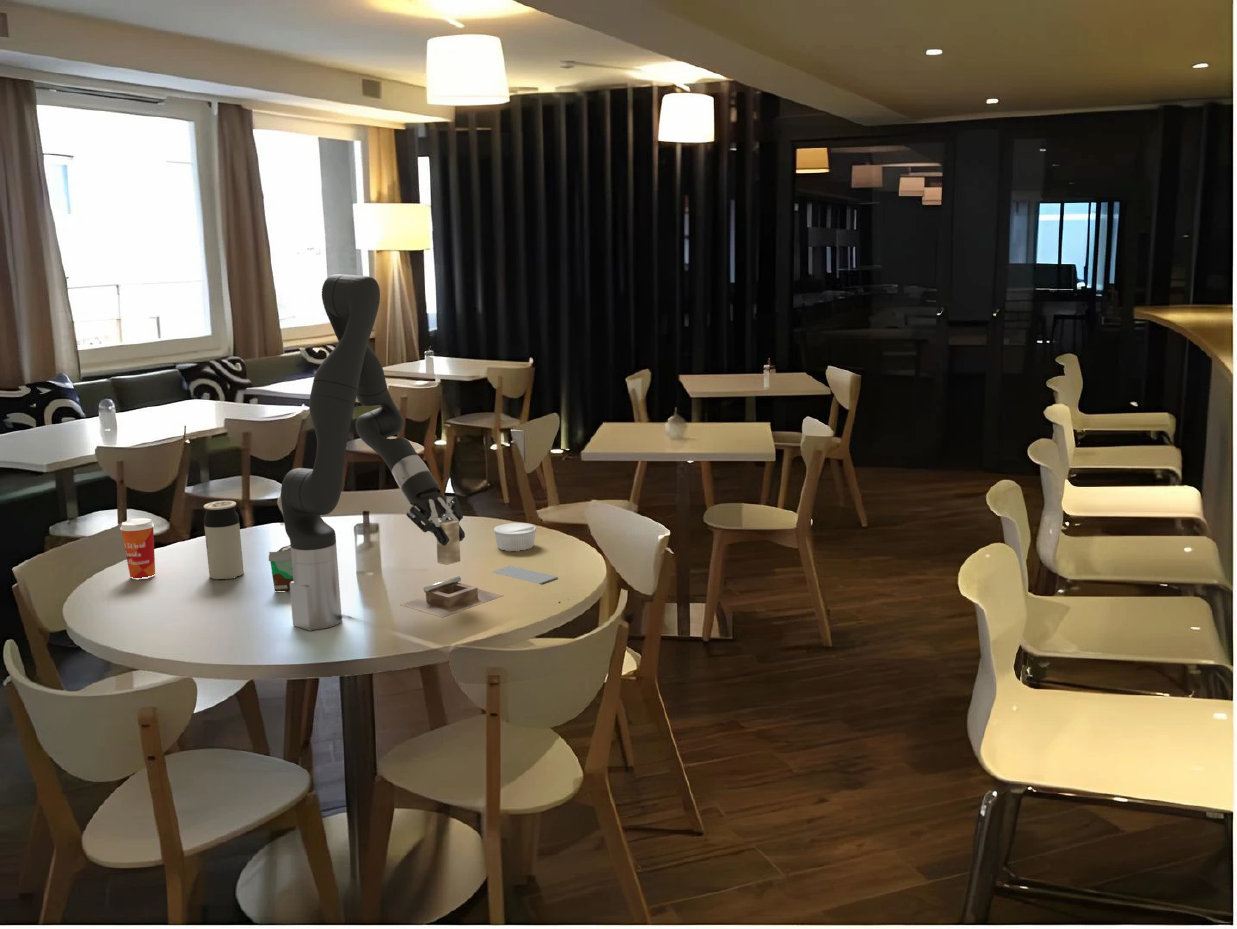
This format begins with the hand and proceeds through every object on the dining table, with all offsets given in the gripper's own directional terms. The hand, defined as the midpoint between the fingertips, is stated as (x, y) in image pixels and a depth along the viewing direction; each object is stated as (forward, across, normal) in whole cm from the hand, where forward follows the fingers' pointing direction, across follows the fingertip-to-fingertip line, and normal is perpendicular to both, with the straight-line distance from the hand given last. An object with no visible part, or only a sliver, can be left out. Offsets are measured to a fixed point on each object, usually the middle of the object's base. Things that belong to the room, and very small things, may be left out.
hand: (454, 540), depth 235 cm
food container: (-19, -12, +40) cm, 46 cm away
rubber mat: (+8, +20, +13) cm, 25 cm away
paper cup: (-46, -30, +68) cm, 87 cm away
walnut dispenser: (+9, 0, +12) cm, 15 cm away
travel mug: (-34, -17, +56) cm, 68 cm away
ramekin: (-7, +43, +27) cm, 51 cm away
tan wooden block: (+2, 0, +5) cm, 5 cm away
